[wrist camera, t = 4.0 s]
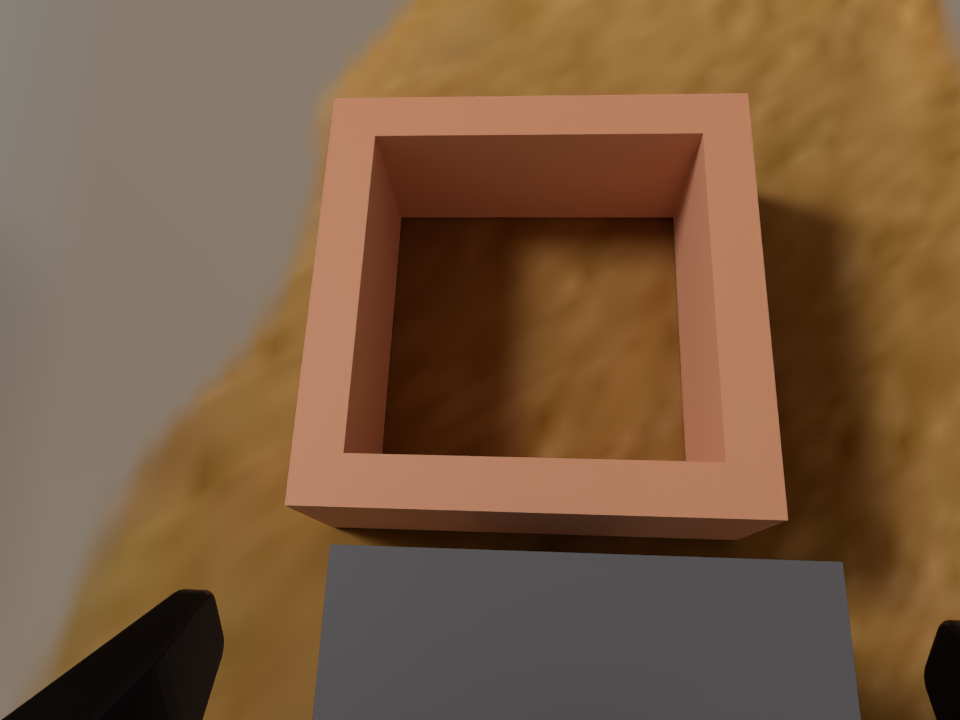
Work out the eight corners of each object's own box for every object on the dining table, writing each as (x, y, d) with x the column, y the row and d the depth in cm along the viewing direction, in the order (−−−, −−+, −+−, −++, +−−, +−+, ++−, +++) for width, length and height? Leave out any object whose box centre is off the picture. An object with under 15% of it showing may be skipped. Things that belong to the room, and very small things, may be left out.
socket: (736, 540, 16) (788, 520, 13) (332, 527, 17) (284, 504, 14) (710, 183, 19) (747, 93, 16) (367, 184, 20) (334, 98, 17)
